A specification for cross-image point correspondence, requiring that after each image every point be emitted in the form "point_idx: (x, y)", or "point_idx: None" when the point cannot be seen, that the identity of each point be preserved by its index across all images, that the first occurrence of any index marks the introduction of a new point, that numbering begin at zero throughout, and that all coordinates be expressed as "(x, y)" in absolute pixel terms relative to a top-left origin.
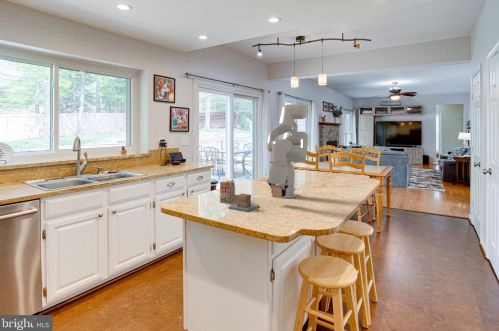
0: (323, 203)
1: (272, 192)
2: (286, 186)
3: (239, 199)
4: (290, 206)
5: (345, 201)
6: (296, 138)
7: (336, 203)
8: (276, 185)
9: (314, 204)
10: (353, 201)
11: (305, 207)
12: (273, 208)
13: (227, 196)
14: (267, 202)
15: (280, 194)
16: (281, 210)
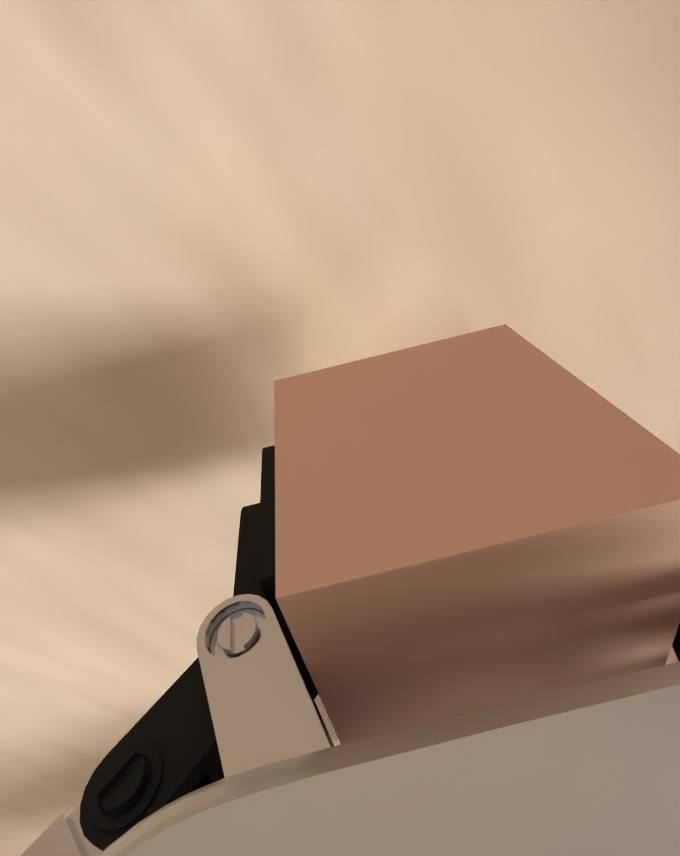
0: (75, 721)
1: (551, 375)
2: (136, 766)
3: None
4: (179, 429)
5: (38, 825)
6: None
7: (12, 775)
8: (610, 667)
9: (89, 660)
10: (7, 848)
11: (11, 529)
12: (264, 76)
13: None
14: (580, 356)
15: (286, 424)
16: (16, 60)
